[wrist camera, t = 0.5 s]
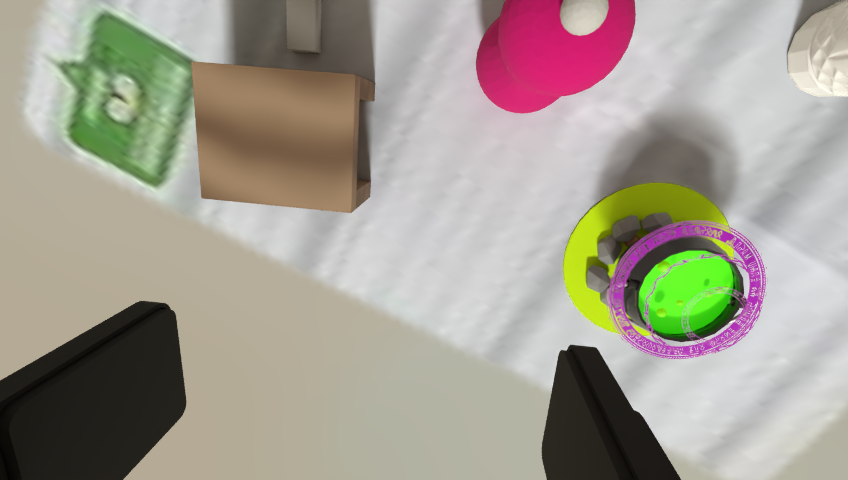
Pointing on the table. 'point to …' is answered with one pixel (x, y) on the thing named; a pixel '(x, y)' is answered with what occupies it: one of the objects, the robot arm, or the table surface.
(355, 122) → the small wooden table
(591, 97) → the table surface
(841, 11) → the white cup
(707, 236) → the toy cauldron
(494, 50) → the pepper mill
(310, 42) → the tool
